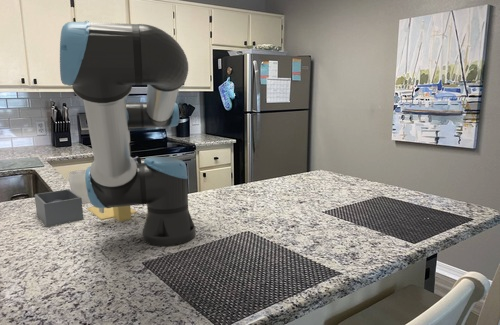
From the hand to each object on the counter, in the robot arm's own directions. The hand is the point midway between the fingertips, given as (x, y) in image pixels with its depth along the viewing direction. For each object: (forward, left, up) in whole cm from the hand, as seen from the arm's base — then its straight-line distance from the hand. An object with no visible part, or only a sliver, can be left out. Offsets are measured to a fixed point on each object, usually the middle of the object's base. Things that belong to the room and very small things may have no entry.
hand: (122, 207), depth 125 cm
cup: (+30, +4, -4) cm, 31 cm away
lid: (+8, 0, -4) cm, 9 cm away
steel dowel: (+18, +16, -4) cm, 24 cm away
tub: (+15, +16, -4) cm, 22 cm away
